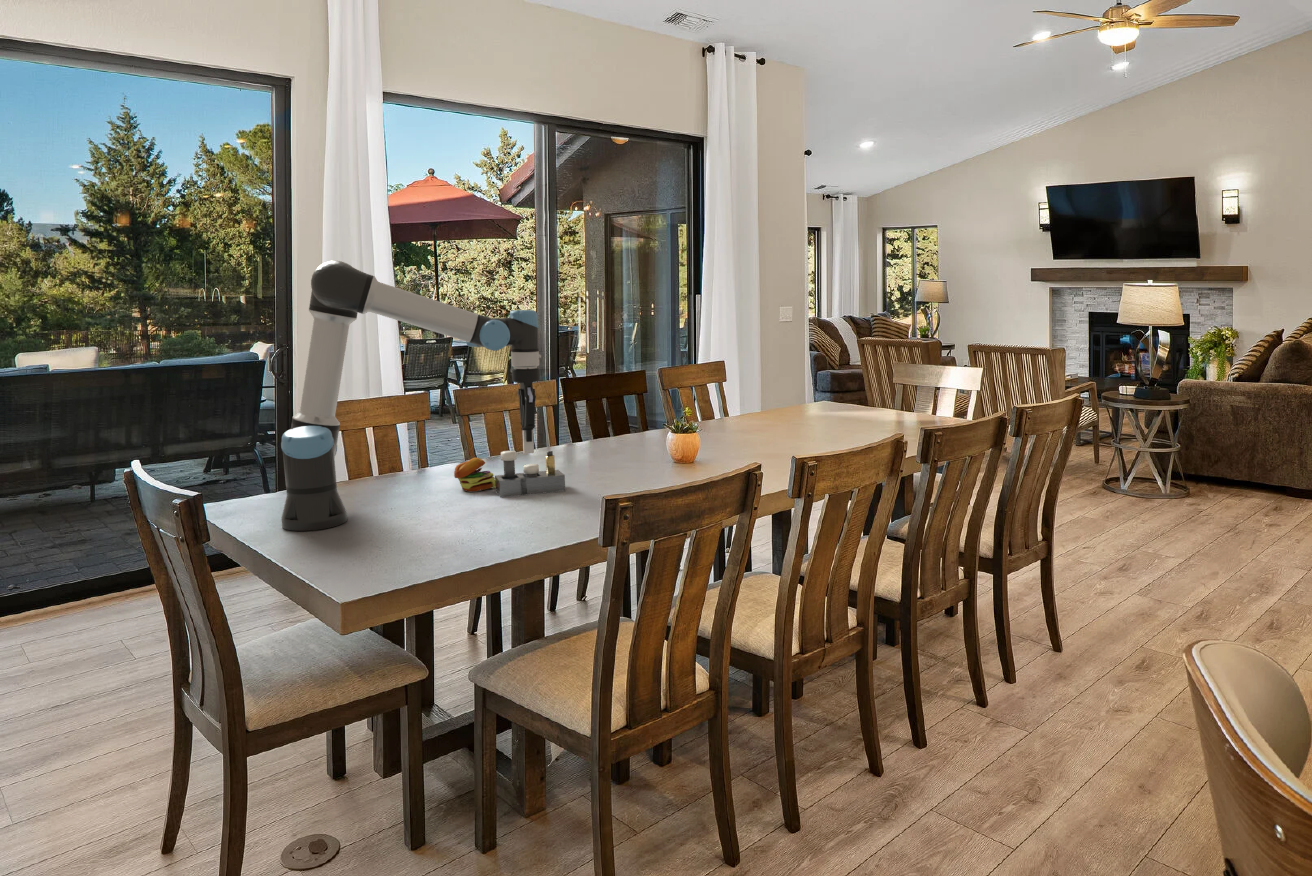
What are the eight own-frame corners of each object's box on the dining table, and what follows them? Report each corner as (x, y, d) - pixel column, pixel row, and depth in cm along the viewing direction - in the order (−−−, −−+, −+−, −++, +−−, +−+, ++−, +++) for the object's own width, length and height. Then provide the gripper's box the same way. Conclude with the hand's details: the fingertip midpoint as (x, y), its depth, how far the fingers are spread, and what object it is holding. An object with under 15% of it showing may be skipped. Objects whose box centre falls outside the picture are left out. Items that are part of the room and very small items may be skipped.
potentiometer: (547, 474, 255) (546, 452, 254) (545, 472, 257) (544, 451, 256) (556, 473, 256) (554, 451, 255) (554, 472, 258) (553, 450, 257)
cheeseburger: (494, 491, 256) (483, 458, 254) (457, 501, 256) (446, 468, 254) (500, 483, 265) (490, 450, 264) (465, 493, 266) (454, 460, 264)
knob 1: (503, 478, 250) (502, 454, 249) (500, 475, 254) (499, 451, 253) (518, 477, 252) (517, 452, 251) (516, 474, 256) (514, 450, 255)
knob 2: (526, 491, 253) (524, 467, 252) (523, 488, 257) (521, 464, 256) (541, 490, 254) (539, 466, 253) (538, 487, 258) (536, 463, 257)
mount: (500, 497, 249) (499, 481, 248) (495, 491, 256) (494, 475, 256) (565, 490, 255) (564, 474, 254) (559, 485, 262) (558, 469, 261)
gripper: (544, 368, 245) (546, 455, 249) (534, 365, 257) (537, 448, 261) (516, 369, 243) (519, 457, 246) (507, 366, 255) (511, 449, 259)
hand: (528, 452), depth 254 cm, fingers closed
